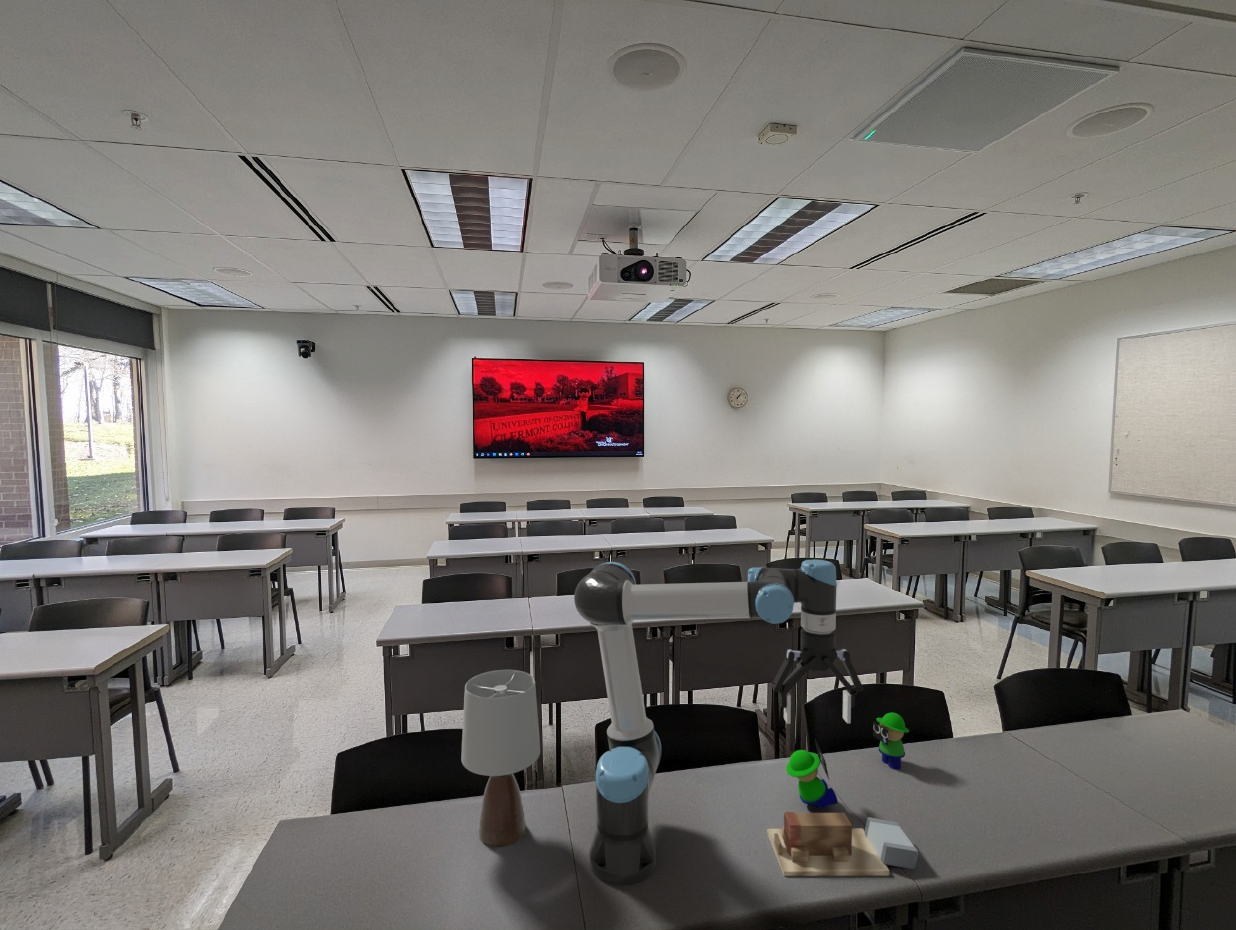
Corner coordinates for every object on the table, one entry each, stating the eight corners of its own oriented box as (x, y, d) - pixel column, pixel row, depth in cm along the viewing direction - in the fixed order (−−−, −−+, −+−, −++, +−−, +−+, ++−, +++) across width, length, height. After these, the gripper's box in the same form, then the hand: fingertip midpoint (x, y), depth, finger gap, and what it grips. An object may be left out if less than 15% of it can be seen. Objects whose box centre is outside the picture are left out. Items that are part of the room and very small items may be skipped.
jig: (783, 876, 129) (784, 860, 129) (767, 833, 143) (767, 818, 143) (889, 876, 129) (889, 859, 129) (862, 833, 143) (862, 818, 143)
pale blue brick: (886, 846, 131) (918, 851, 131) (867, 817, 141) (896, 822, 141) (883, 863, 131) (914, 869, 131) (864, 833, 141) (893, 838, 141)
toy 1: (842, 812, 148) (817, 758, 148) (806, 822, 150) (781, 768, 150) (836, 785, 158) (813, 734, 158) (802, 794, 161) (779, 744, 160)
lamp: (552, 815, 150) (551, 672, 148) (521, 866, 132) (519, 704, 131) (486, 803, 155) (484, 664, 153) (447, 851, 137) (444, 695, 136)
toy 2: (868, 758, 176) (869, 709, 175) (892, 753, 179) (893, 704, 178) (890, 774, 168) (891, 722, 167) (915, 769, 170) (916, 718, 170)
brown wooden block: (789, 856, 134) (790, 825, 133) (783, 842, 138) (784, 812, 138) (851, 855, 134) (852, 824, 133) (843, 841, 138) (844, 811, 138)
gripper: (767, 635, 131) (766, 729, 132) (880, 634, 131) (878, 728, 132) (759, 624, 138) (758, 713, 139) (866, 623, 138) (864, 712, 139)
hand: (816, 721), depth 136 cm, fingers open, 13 cm apart
